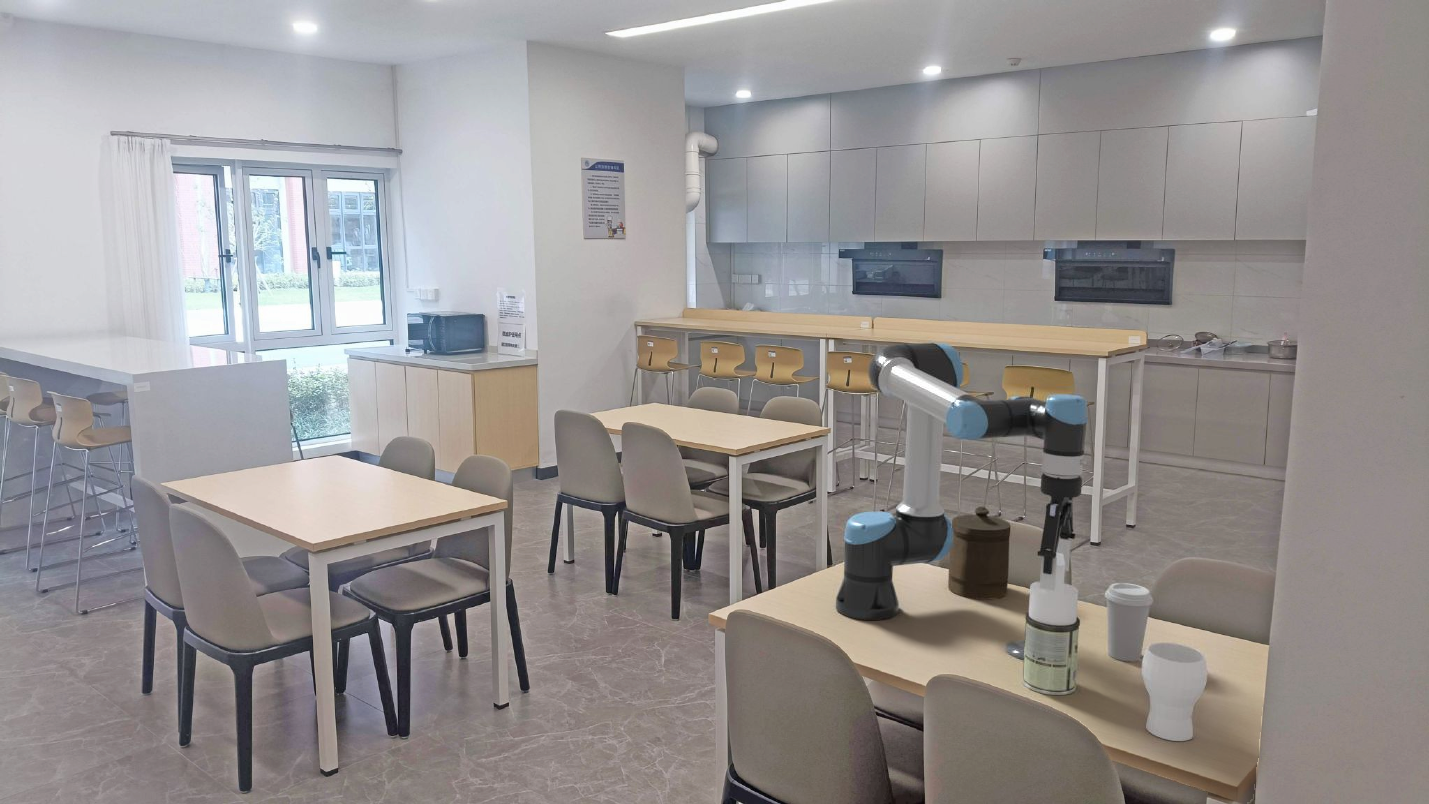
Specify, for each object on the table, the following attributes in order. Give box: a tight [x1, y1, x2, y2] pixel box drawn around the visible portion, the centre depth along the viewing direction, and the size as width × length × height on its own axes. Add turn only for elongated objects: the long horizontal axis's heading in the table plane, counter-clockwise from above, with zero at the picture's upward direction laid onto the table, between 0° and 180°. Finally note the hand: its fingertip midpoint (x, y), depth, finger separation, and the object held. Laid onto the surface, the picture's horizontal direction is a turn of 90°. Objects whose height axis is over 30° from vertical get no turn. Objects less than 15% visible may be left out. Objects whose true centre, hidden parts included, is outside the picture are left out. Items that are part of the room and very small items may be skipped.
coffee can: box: [1021, 610, 1081, 696], centre depth 195 cm, size 10×10×14 cm
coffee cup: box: [1104, 582, 1154, 663], centre depth 210 cm, size 10×10×15 cm
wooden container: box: [947, 506, 1011, 600], centre depth 251 cm, size 15×15×22 cm
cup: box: [1141, 642, 1208, 742], centre depth 176 cm, size 11×11×15 cm
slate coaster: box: [1005, 640, 1025, 661], centre depth 212 cm, size 10×10×1 cm
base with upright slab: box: [1028, 553, 1079, 626], centre depth 193 cm, size 9×9×12 cm
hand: (1054, 579), depth 193 cm, fingers open, 13 cm apart
